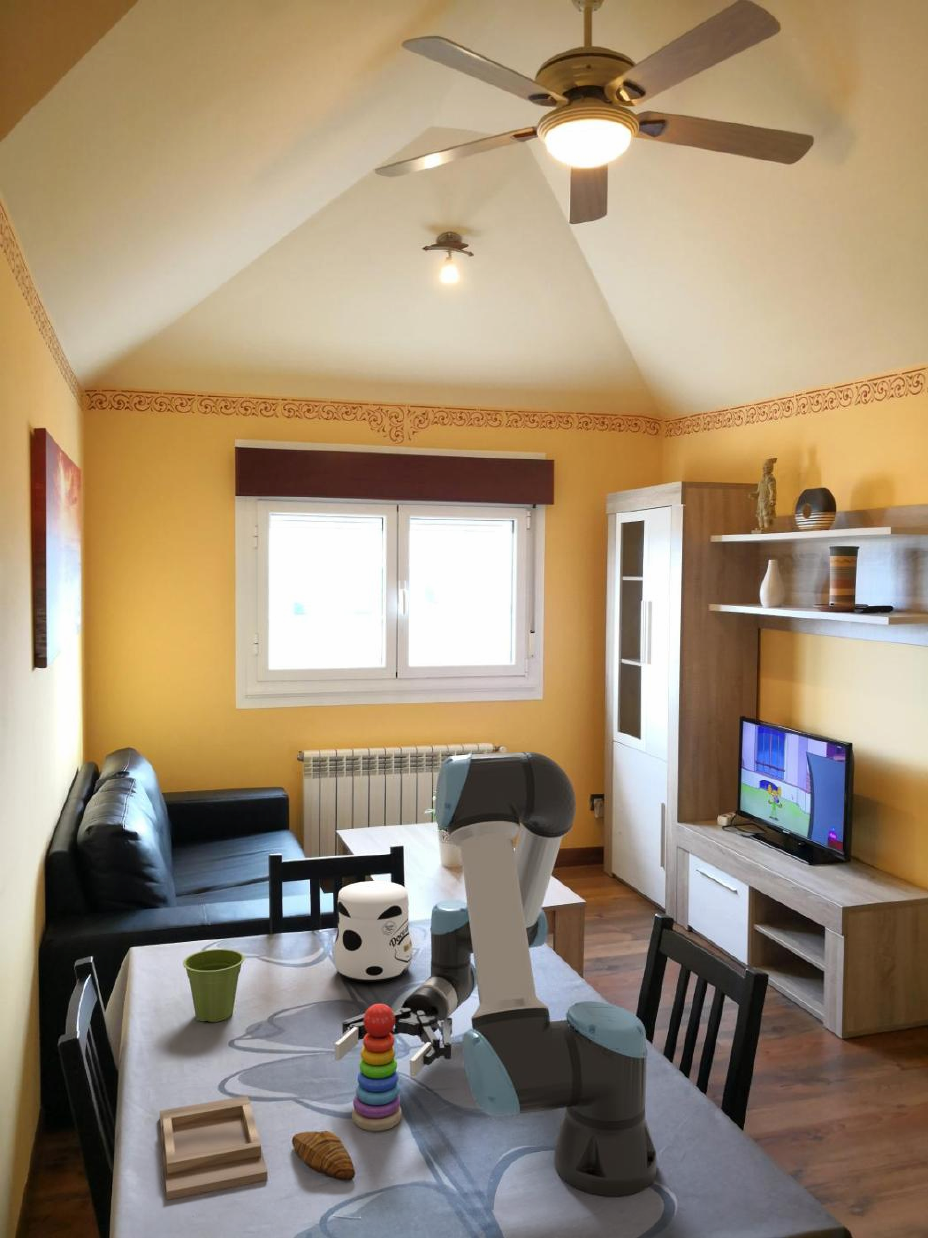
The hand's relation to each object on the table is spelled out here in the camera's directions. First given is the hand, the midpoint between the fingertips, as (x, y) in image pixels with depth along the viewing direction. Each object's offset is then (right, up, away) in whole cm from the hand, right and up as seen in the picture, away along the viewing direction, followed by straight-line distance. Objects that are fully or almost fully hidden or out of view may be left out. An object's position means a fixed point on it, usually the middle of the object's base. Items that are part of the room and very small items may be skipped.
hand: (373, 1060), depth 159 cm
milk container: (-6, -7, +59) cm, 60 cm away
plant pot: (-35, -8, +38) cm, 52 cm away
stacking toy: (0, -10, +1) cm, 10 cm away
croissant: (-7, -11, -11) cm, 17 cm away
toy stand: (-24, -10, -7) cm, 27 cm away
